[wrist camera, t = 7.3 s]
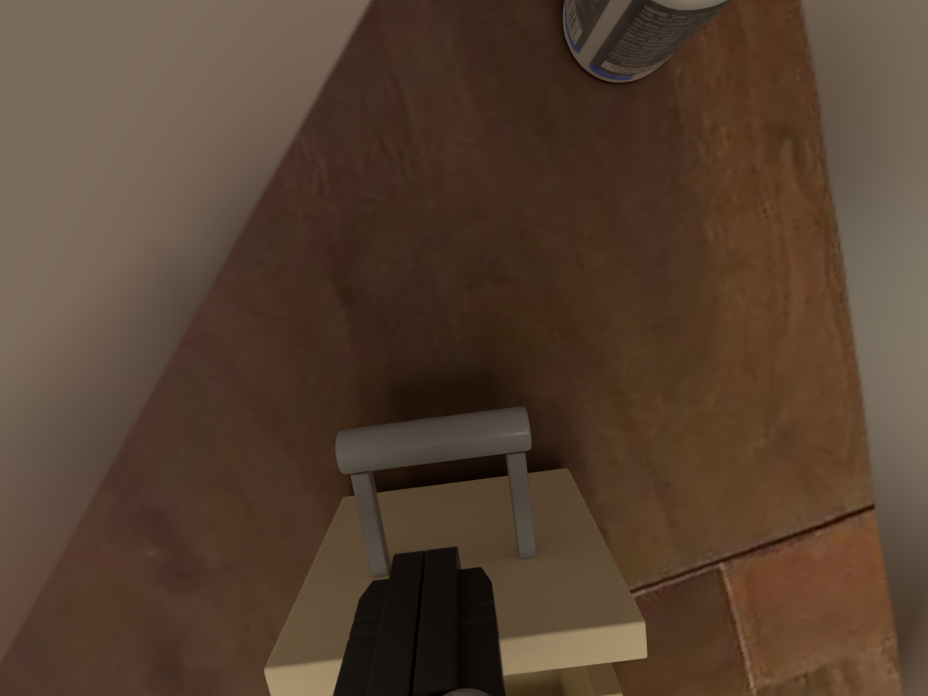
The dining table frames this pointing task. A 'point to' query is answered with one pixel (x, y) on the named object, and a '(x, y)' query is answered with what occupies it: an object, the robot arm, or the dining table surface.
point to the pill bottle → (632, 33)
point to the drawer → (469, 559)
